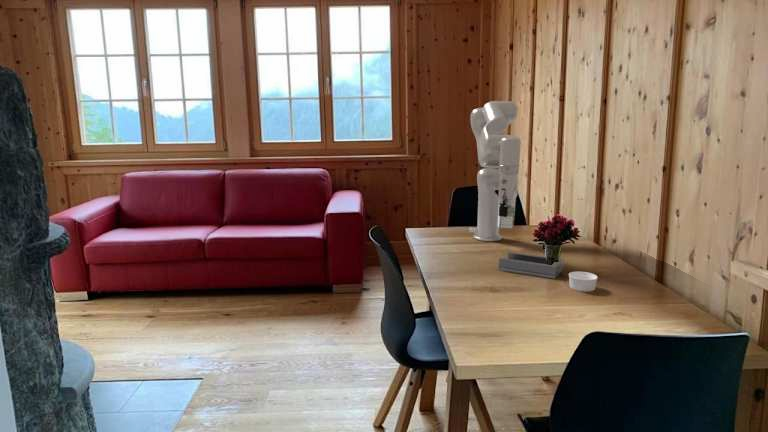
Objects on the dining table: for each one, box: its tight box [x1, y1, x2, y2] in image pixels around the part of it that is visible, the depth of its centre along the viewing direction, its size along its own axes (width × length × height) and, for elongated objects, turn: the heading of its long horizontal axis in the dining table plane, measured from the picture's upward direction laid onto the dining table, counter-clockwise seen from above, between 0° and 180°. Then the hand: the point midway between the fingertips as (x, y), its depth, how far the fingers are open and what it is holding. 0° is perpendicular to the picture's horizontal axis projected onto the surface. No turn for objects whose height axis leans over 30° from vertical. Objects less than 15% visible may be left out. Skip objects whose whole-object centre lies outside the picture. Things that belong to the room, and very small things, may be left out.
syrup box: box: [498, 192, 517, 230], centre depth 213 cm, size 6×6×14 cm
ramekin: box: [568, 271, 598, 293], centre depth 177 cm, size 9×9×4 cm
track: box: [497, 251, 564, 279], centre depth 197 cm, size 20×13×4 cm, turn 60°
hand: (506, 214), depth 213 cm, fingers closed on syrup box, 7 cm apart
